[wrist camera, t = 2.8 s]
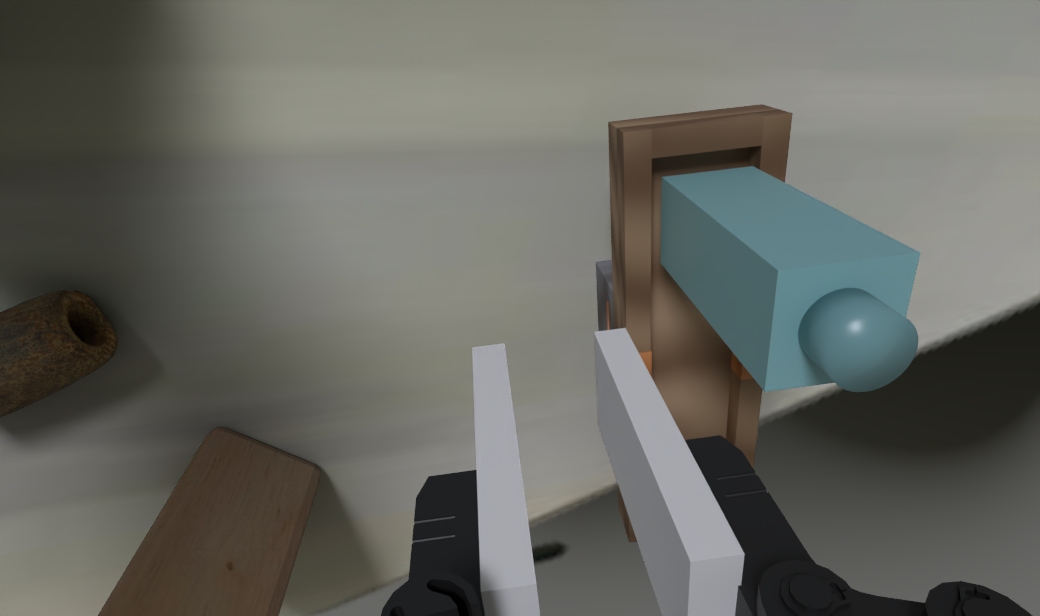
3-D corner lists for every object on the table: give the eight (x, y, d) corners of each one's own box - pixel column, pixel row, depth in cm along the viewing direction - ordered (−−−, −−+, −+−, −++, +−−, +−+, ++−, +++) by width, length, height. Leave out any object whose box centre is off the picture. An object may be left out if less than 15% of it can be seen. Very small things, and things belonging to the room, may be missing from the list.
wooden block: (327, 464, 53) (258, 693, 35) (279, 535, 56) (195, 779, 38) (216, 418, 50) (78, 645, 32) (173, 497, 53) (26, 743, 35)
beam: (581, 103, 41) (623, 133, 30) (710, 88, 41) (794, 113, 31) (597, 443, 54) (629, 543, 44) (693, 429, 55) (748, 526, 44)
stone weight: (-6, 415, 48) (-72, 473, 42) (-83, 351, 45) (-167, 403, 39) (143, 334, 46) (95, 382, 40) (72, 261, 43) (9, 301, 37)
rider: (653, 170, 33) (809, 295, 18) (741, 160, 33) (964, 275, 18) (652, 253, 35) (791, 424, 20) (734, 243, 35) (929, 405, 21)
